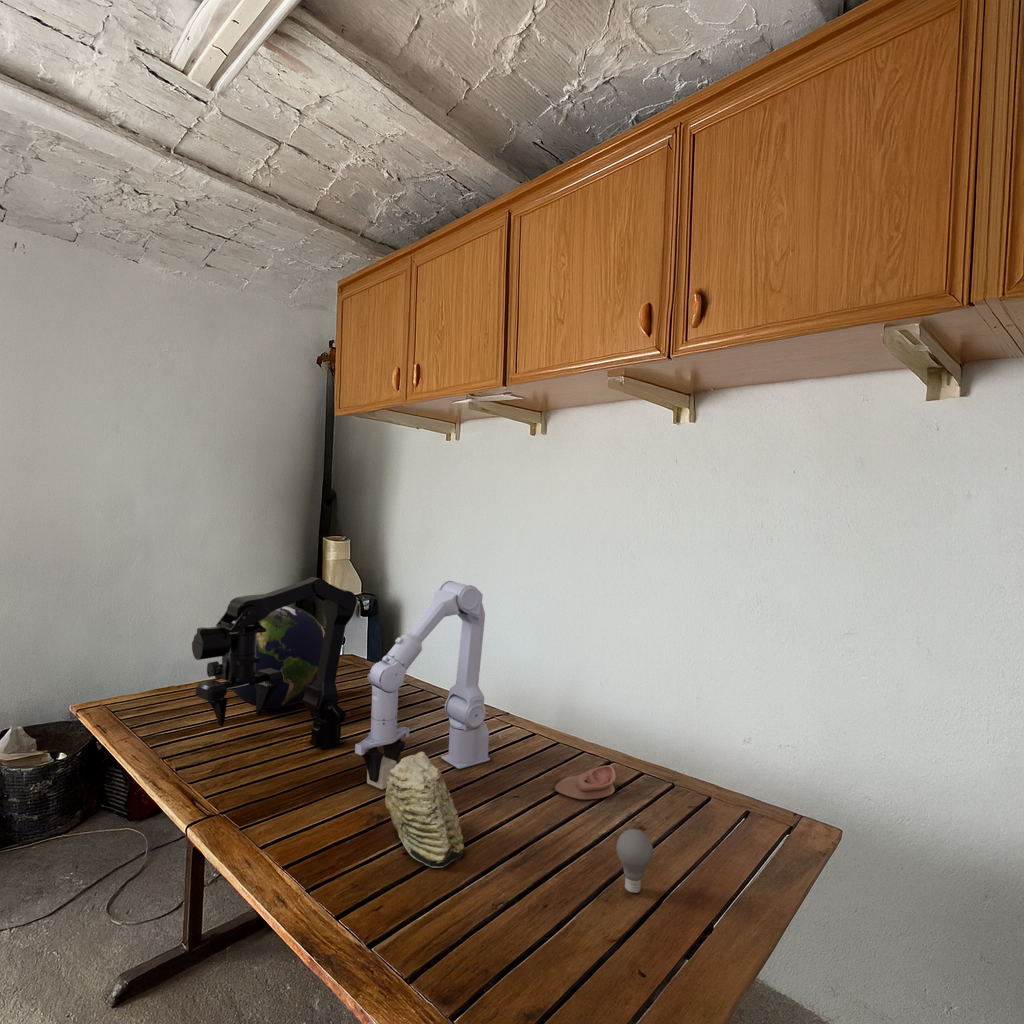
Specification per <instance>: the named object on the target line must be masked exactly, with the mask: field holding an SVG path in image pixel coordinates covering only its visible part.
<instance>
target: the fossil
mask: <svg viewBox="0 0 1024 1024" xmlns="http://www.w3.org/2000/svg"><path fill="white" fill-rule="evenodd" d="M387 779H388V780H389V781H388V782H387V786H388V787H386V788H385V798H384V800H385V802H384V804H385V807H386V810H387V811H388V812H389V814H390V815H389V816H390V818H391V822H392V825H393V827H394V828H395V830H396V831H397V833H398V834H397V835H398V838H399V839H400V842H402V845H403V847H404V848H405V850H406V851H407V853H408V854H409V855H410V856H411V857H412V858H413V859H415V860H416V861H418V862H420V863H422V864H423V865H424V866H428V867H430V868H433V869H440V868H441V869H442V868H444V867H447V866H448V865H450V864H451V863H452V862H453V861H457V860H459V859H461V857H462V856H463V854H464V853H465V852H466V848H465V844H464V835H463V833H462V826H461V820H460V817H459V812H458V809H457V808H456V806H455V803H454V799H453V798H452V795H451V792H450V791H449V789H448V787H447V783H446V781H445V778H444V775H443V773H442V770H441V769H440V768H437V767H436V766H435V764H434V763H433V762H432V760H431V759H430V758H429V757H428V756H427V754H426V753H425V752H424V751H419V752H417V753H416V754H410V755H408V756H405V757H403V758H401V759H400V761H399V762H398V763H397V764H396V766H395V768H394V769H391V770H390V776H388V778H387Z"/></svg>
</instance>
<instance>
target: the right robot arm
mask: <svg viewBox="0 0 1024 1024" xmlns="http://www.w3.org/2000/svg"><path fill="white" fill-rule="evenodd" d="M483 596H484V595H483V593H482V592H481V591H480V590H479V589H478V588H477V587H476V586H474V585H472V584H465V583H461V582H456V581H453V580H446V581H444V582H442V584H441V585H440V586H439V587H438V589H437V590H436V591H435V592H434V594H433V598H432V601H431V603H429V606H428V607H427V608H426V609H425V611H424V612H423V614H422V616H421V617H420V618H419V620H418V621H417V623H416V624H415V626H414V627H413V628H412V630H411V631H410V632H409V633H405V634H402V635H401V636H400V637H397V638H396V639H395V641H394V642H395V644H394V645H393V646H392V647H391V649H390V650H389V651H388V652H387V653H386V655H384V656H382V658H381V660H380V661H379V660H378V661H377V662H376V663H374V664H373V666H372V667H371V668H370V670H369V673H368V674H367V680H368V682H369V684H370V685H371V692H372V693H371V713H370V714H371V715H370V732H368V736H367V737H366V738H364V739H362V740H361V741H360V742H359V743H356V744H355V746H354V754H356V755H359V756H361V757H362V759H363V761H364V763H365V766H366V770H367V769H368V774H369V779H370V780H371V781H374V782H378V780H379V774H380V765H381V761H382V758H383V757H386V758H389V759H391V760H394V761H397V762H398V761H399V759H400V756H401V754H402V752H403V750H404V749H405V748H406V742H405V741H403V740H402V739H403V738H409V737H410V730H411V729H410V727H406V726H405V725H404V726H400V727H398V711H399V710H398V709H399V708H398V707H399V689H400V688H401V687H402V686H403V684H404V682H405V678H406V677H405V676H406V674H407V671H408V670H409V668H410V667H411V665H412V664H413V663H414V661H415V660H416V659H417V657H418V656H419V655H420V653H422V651H423V642H424V641H425V639H426V638H427V637H428V636H429V635H430V634H431V633H432V631H434V629H435V628H437V626H438V625H439V623H440V622H442V620H443V619H444V618H445V617H451V616H456V615H457V616H458V618H459V619H460V620H461V629H460V630H461V631H460V640H459V648H458V649H459V650H458V658H457V670H456V680H455V684H453V686H451V687H450V688H449V691H448V697H447V698H446V701H445V702H444V712H445V714H446V716H447V717H448V722H449V735H448V736H449V737H448V753H447V754H444V755H441V756H440V759H442V760H443V761H445V762H446V763H448V764H449V765H451V766H452V767H454V768H456V769H457V770H462V769H466V768H469V767H473V766H475V765H478V764H483V763H486V762H490V761H491V758H490V757H489V744H490V731H489V728H488V725H487V723H485V722H484V721H485V719H486V716H487V708H486V706H485V696H484V694H483V692H482V690H481V689H480V687H479V681H480V671H481V662H482V651H483V642H484V631H485V621H486V612H485V609H484V604H483V598H484V597H483ZM380 747H383V752H381V751H380V749H379V748H380Z"/></svg>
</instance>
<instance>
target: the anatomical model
mask: <svg viewBox="0 0 1024 1024" xmlns="http://www.w3.org/2000/svg"><path fill="white" fill-rule="evenodd" d="M616 778H617V775H616V772H615V769H614V768H613V767H612V766H611V765H601V766H597V767H594V768H592V769H589V770H587V771H585V772H583V773H580V774H578V775H572V776H567V777H564V778H562V780H560V781H559V782H557V784H556V785H555V786H554V790H555V791H556V792H557V793H559V794H561V795H563V796H567V797H569V798H573V799H576V800H596V799H603V798H606V797H609V796H611V795H613V794H614V793H615V791H616V788H615V785H614V783H615V782H616Z"/></svg>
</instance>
